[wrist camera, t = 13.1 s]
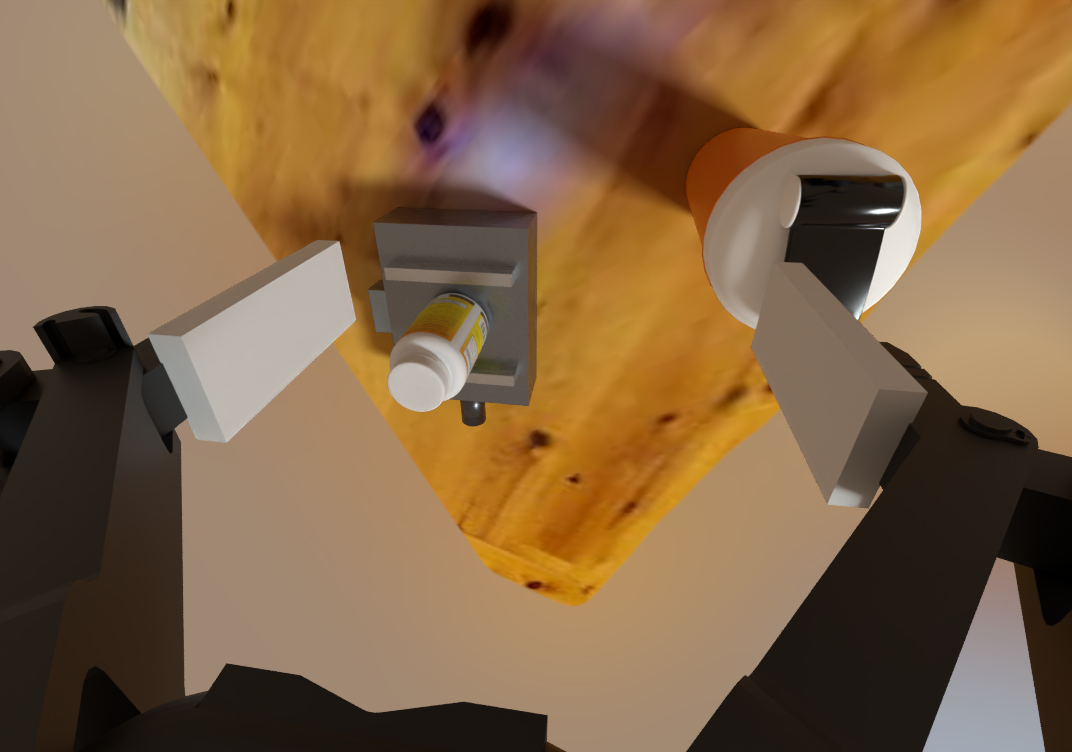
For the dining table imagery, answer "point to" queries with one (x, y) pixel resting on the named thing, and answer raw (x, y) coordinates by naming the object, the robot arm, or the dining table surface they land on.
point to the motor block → (466, 290)
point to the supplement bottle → (437, 352)
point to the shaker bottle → (801, 216)
